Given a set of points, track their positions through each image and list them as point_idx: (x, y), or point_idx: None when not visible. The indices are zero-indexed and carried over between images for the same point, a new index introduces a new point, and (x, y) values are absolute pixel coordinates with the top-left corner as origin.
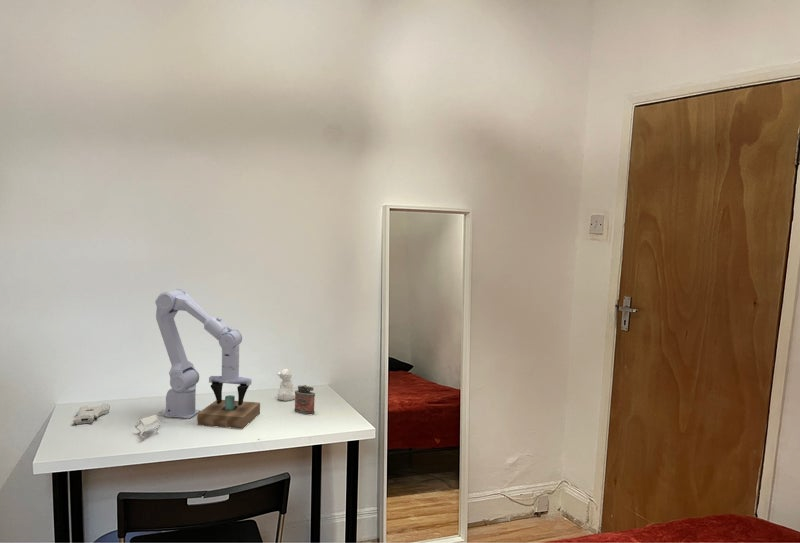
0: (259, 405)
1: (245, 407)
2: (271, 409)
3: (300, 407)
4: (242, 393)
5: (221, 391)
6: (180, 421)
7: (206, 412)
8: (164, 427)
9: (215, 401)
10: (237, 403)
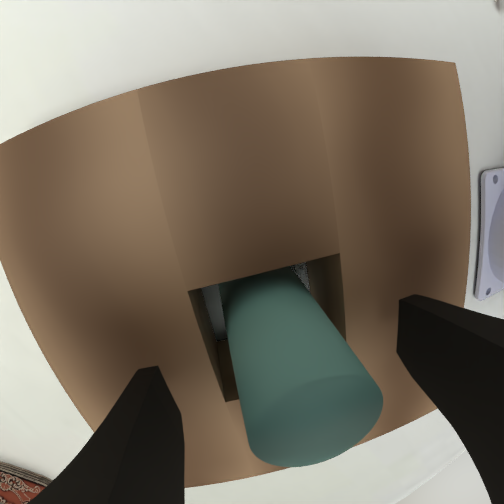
0: None
1: None
2: None
3: (13, 487)
4: (40, 494)
5: (463, 432)
6: (492, 118)
7: (414, 108)
8: (491, 20)
9: None
10: None
